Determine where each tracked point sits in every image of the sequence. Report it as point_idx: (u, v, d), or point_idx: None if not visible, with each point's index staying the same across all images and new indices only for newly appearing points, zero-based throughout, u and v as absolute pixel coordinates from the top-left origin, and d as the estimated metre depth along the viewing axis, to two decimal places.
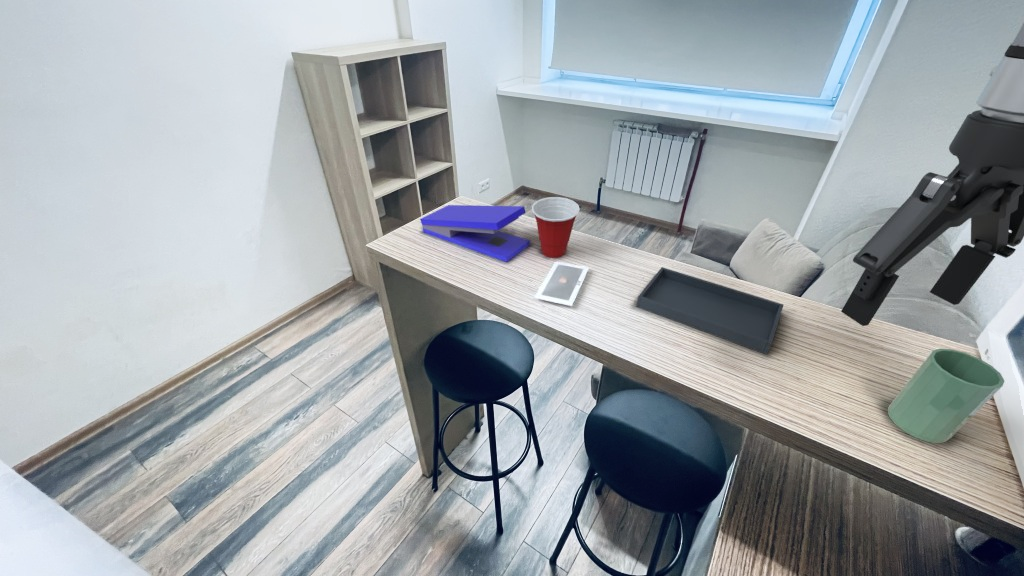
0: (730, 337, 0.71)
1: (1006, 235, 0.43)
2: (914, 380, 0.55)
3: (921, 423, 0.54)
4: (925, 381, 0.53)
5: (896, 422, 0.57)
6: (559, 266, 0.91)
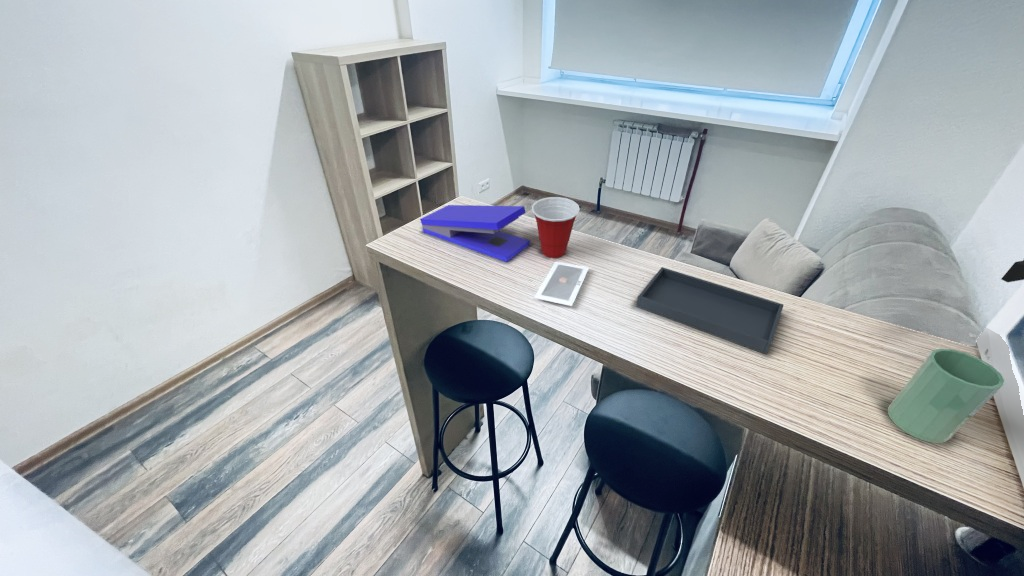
0: (730, 337, 0.71)
1: None
2: (914, 380, 0.55)
3: (921, 423, 0.54)
4: (925, 381, 0.53)
5: (896, 422, 0.57)
6: (559, 266, 0.91)
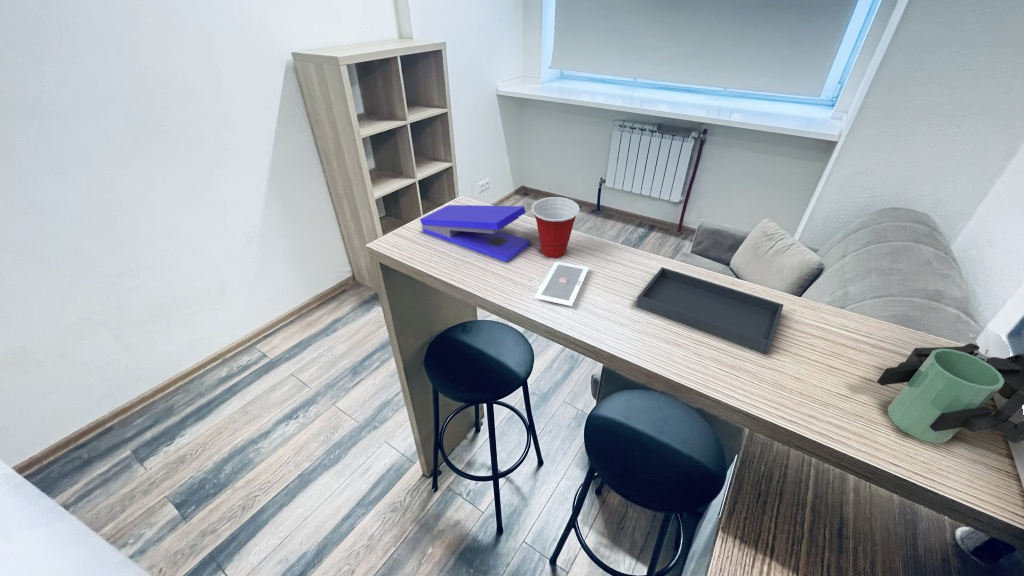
0: (730, 337, 0.71)
1: (1014, 410, 0.50)
2: (914, 380, 0.55)
3: (921, 423, 0.54)
4: (926, 381, 0.53)
5: (896, 422, 0.57)
6: (559, 266, 0.91)
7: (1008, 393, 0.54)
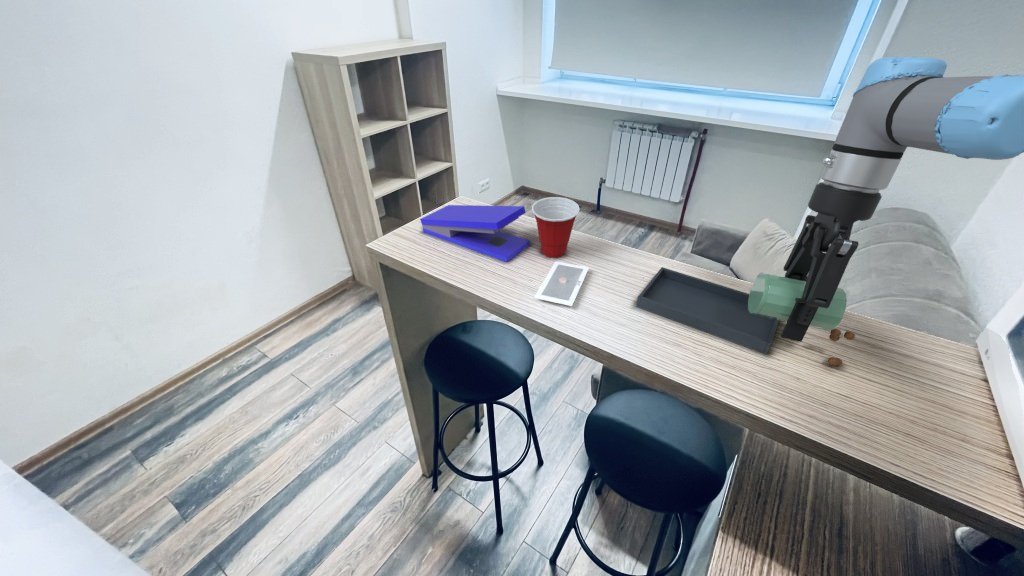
0: (730, 337, 0.71)
1: None
2: None
3: None
4: None
5: None
6: (559, 266, 0.91)
7: None
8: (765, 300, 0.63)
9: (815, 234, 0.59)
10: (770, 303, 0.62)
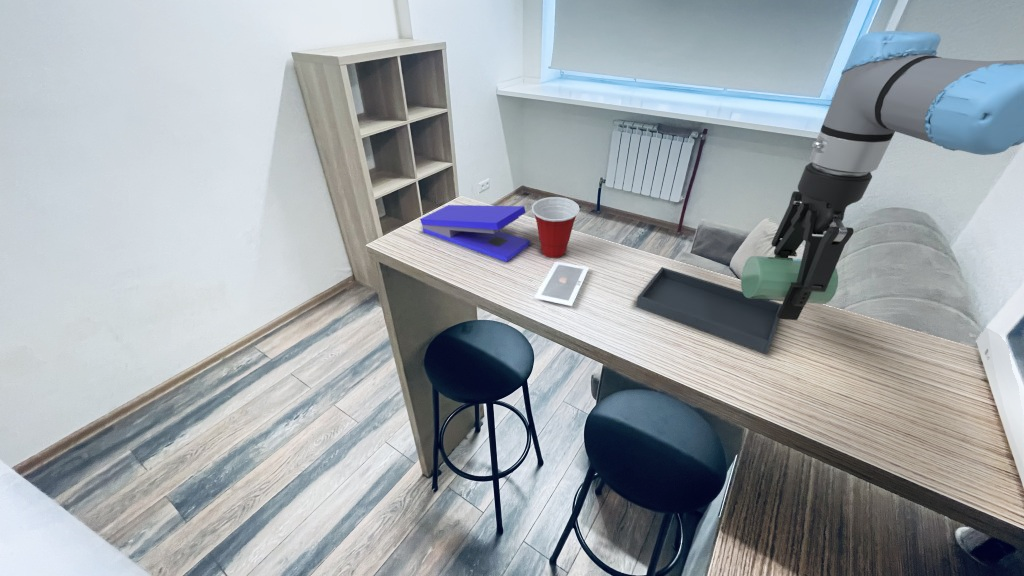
0: (730, 337, 0.71)
1: None
2: None
3: None
4: None
5: None
6: (559, 266, 0.91)
7: None
8: (761, 287, 0.63)
9: (807, 218, 0.58)
10: (766, 289, 0.63)
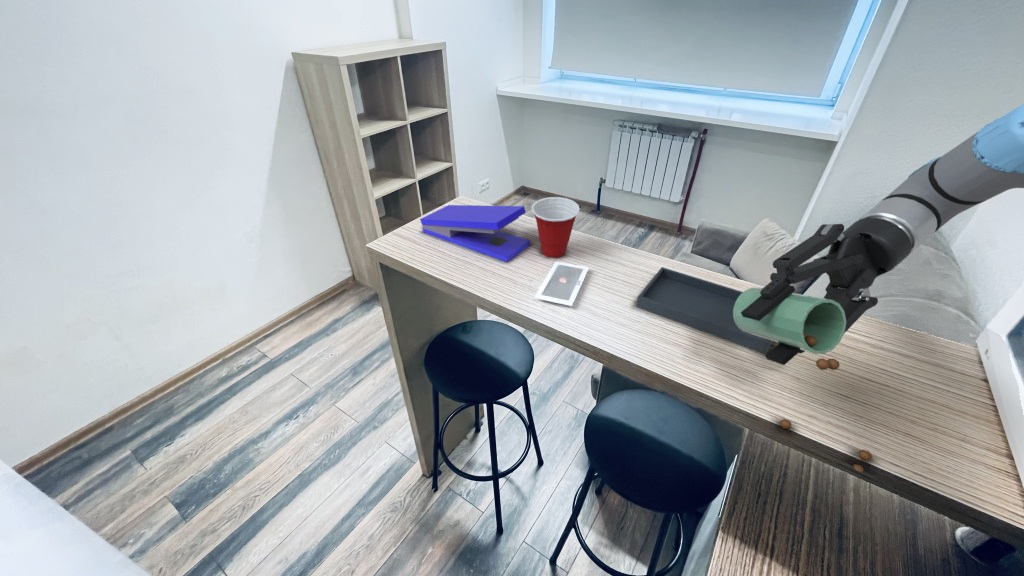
0: (730, 337, 0.71)
1: None
2: (772, 321, 0.53)
3: (757, 335, 0.58)
4: (782, 334, 0.52)
5: (736, 323, 0.60)
6: (559, 266, 0.91)
7: (837, 284, 0.56)
8: (747, 291, 0.59)
9: None
10: (750, 292, 0.58)
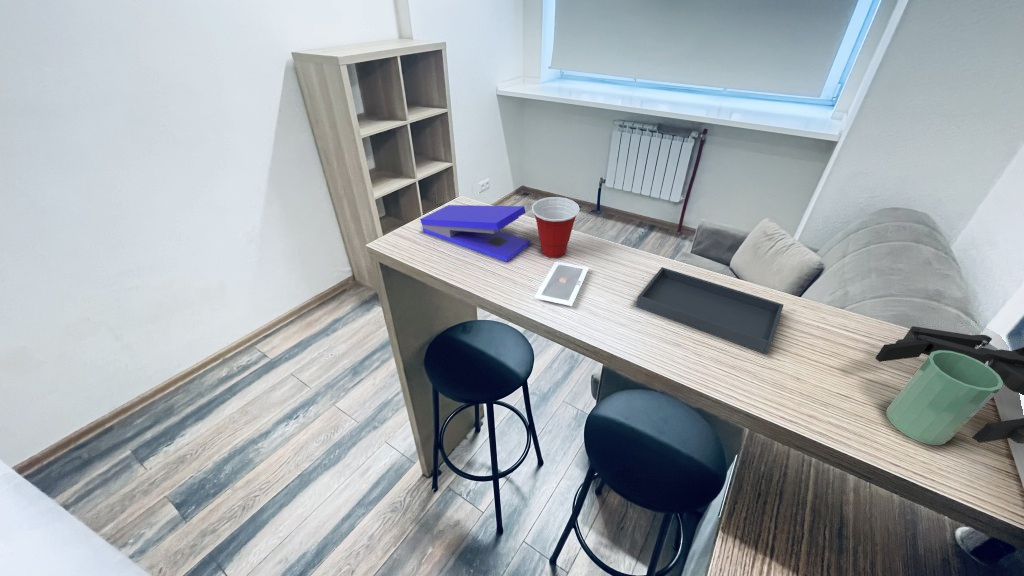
0: (730, 337, 0.71)
1: None
2: (913, 382, 0.55)
3: (920, 425, 0.54)
4: (924, 383, 0.53)
5: (895, 424, 0.57)
6: (559, 266, 0.91)
7: (1016, 385, 0.53)
8: None
9: None
10: None
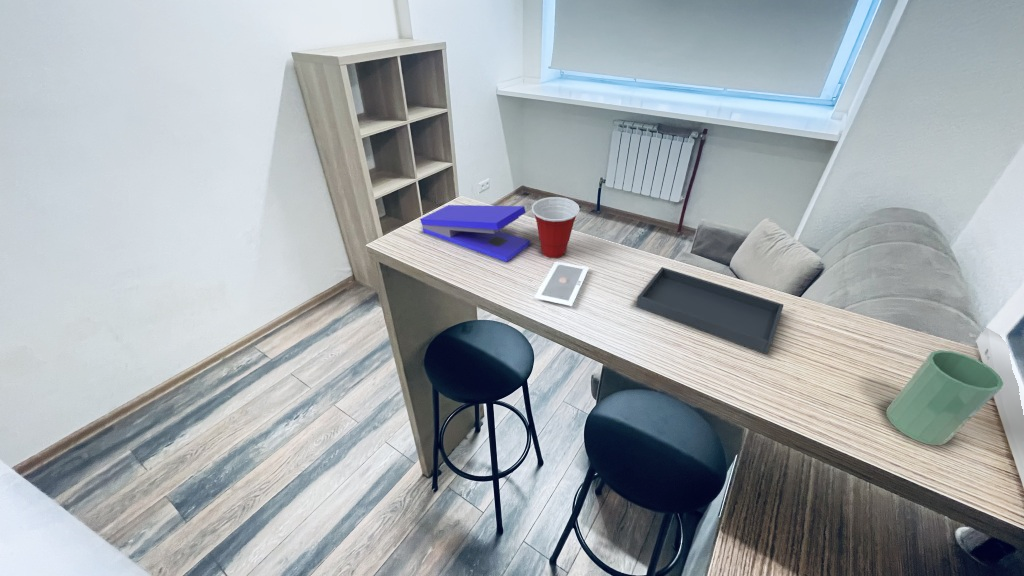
0: (730, 337, 0.71)
1: None
2: (913, 382, 0.55)
3: (920, 425, 0.54)
4: (924, 383, 0.53)
5: (895, 424, 0.57)
6: (559, 266, 0.91)
7: None
8: None
9: None
10: None
